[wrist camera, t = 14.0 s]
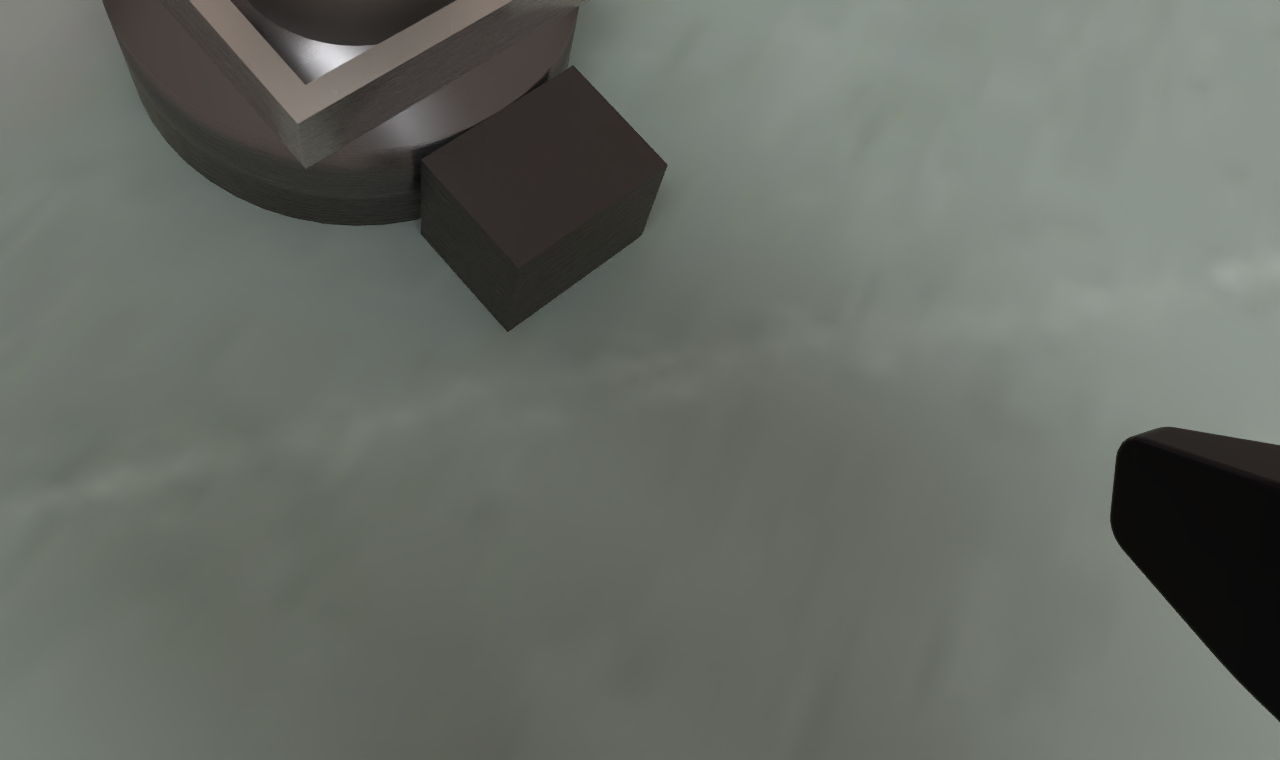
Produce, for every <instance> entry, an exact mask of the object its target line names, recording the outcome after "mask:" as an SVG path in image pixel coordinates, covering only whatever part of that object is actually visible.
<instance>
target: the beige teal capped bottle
mask: <svg viewBox="0 0 1280 760" xmlns="http://www.w3.org/2000/svg"><path fill="white" fill-rule="evenodd" d="M247 1H248V2H249V3H250V4H251V5H252V6H253V7H254V8H255V9H256V10H257V11H258V12H260V13H261V14H262V15H263V16H264V17H266V18H267V19H269V20H270V21H272V22H273V23H275V24H276V25H278V26H280V27H282V28H284V29H286V30H288V31H290V32H292V33H294V34H297V35H299V36H302V37H305V38H308V39H311V40H315V41H319V42H323V43H329V44H336V45H347V46H364V45H376V44H379V43H381V42H383V41H385V40H387V39H388V38H390V37H392V36H394V35H396V34H397V33H399V32H401V31H403V30H404V29H406V28H408V27H410V26H412V25H413V24H415V23H417V22H419V21H420V20H422V19H424V18H426V17H428V16H429V15H431V14H433V13H435V12H437V11H438V10H440V9H442V8H444V7H445V6H447V5H449V4H451V3H453V2H454V1H455V0H247Z"/></svg>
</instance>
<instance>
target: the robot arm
mask: <svg viewBox="0 0 1280 760" xmlns="http://www.w3.org/2000/svg"><path fill="white" fill-rule="evenodd" d="M1110 522H1111V528H1112V531H1113V534H1114V537H1115V539H1116V540H1117V542H1118V544H1119V545H1120V547H1121V548H1122V549H1123V551H1124V552H1125V553H1126V554H1127V555H1128V556H1129V557H1130V559H1131V560H1132V561H1133V562H1134V563H1135V564H1136V566H1137V567H1138V568H1139V569H1140V570H1141V571H1142V572H1143V574H1144V575H1145V576H1146V577H1147V578H1148V579H1149V581H1150V582H1151V583H1152V584H1153V585H1154V586H1155V587H1156V589H1157V590H1158V591H1159V592H1160V593H1161V594H1162V595H1163V597H1164V598H1165V599H1166V600H1167V601H1168V602H1169V604H1170V605H1171V606H1172V607H1173V608H1174V609H1175V610H1176V612H1177V613H1178V614H1179V615H1180V616H1181V617H1182V619H1183V620H1184V621H1185V622H1186V623H1187V624H1188V625H1189V627H1190V628H1191V629H1192V630H1193V631H1194V632H1195V634H1196V635H1197V636H1198V637H1199V638H1200V639H1201V640H1202V642H1203V643H1204V644H1205V645H1206V646H1207V647H1208V648H1209V650H1210V651H1211V652H1212V653H1213V654H1214V655H1215V657H1216V658H1217V659H1218V660H1219V661H1220V662H1221V663H1222V664H1223V665H1224V666H1225V668H1226V669H1227V670H1228V671H1229V672H1230V673H1231V674H1232V675H1233V676H1234V677H1235V678H1236V679H1237V680H1238V682H1239V683H1240V684H1241V685H1242V686H1243V687H1244V688H1245V689H1246V690H1247V691H1248V692H1249V693H1250V694H1251V695H1252V696H1253V697H1254V698H1255V699H1256V700H1257V701H1258V702H1259V703H1261V704H1262V705H1263V706H1264V707H1265V708H1266V709H1267V710H1268V711H1269V712H1270V713H1271V714H1272V715H1273V716H1274V717H1275V718H1276V719H1277V720H1278V721H1279V722H1280V445H1275V444H1269V443H1263V442H1257V441H1251V440H1246V439H1240V438H1234V437H1228V436H1222V435H1216V434H1210V433H1204V432H1199V431H1193V430H1187V429H1181V428H1175V427H1160V428H1157V429H1153V430H1150V431H1147V432H1144V433H1141V434H1138V435H1135V436H1132V437H1129V438H1128V439H1126V440H1125V441H1124V442H1122V444H1121V446H1120V448H1119V449H1118V451H1117V456H1116V464H1115V474H1114V483H1113V493H1112V503H1111V513H1110Z"/></svg>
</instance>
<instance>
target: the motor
mask: <svg viewBox="0 0 1280 760" xmlns="http://www.w3.org/2000/svg"><path fill="white" fill-rule="evenodd" d="M587 1H589V0H455V1H454V2H453V3H451V4H449V5H447V6H445V7H444V8H442V9H440V10H438V11H437V12H435V13H433V14H431V15H429V16H428V17H426V18H424V19H422V20H420V21H419V22H417V23H415V24H413V25H412V26H410V27H408V28H406V29H404V30H403V31H401V32H399V33H397V34H396V35H394V36H392V37H390V38H388V39H387V40H385V41H383V42H381V43H379V44H376V45H364V46H347V45H336V44H329V43H323V42H319V41H315V40H311V39H308V38H305V37H302V36H299V35H297V34H294V33H292V32H290V31H288V30H286V29H284V28H282V27H280V26H278V25H276V24H275V23H273V22H272V21H270V20H269V19H267V18H266V17H264V16H263V15H262V14H261V13H260V12H258V11H257V10H256V9H255V8H254V7H253V6H252V5H251V4H250V3H249V2H248V1H247V0H103V3H104V6H105V9H106V12H107V14H108V17H109V19H110V22H111V25H112V27H113V30H114V32H115V35H116V37H117V40H118V42H119V45H120V48H121V50H122V53H123V55H124V58H125V60H126V63H127V65H128V68H129V71H130V73H131V76H132V78H133V81H134V83H135V86H136V89H137V91H138V94H139V96H140V99H141V101H142V103H143V105H144V107H145V108H146V110H147V112H148V114H149V116H150V118H151V120H152V122H153V123H154V125H155V126H156V127H157V129H158V130H159V132H160V133H161V134H162V136H163V137H164V138H165V140H166V141H167V143H168V144H169V145H170V146H171V147H172V148H173V149H174V150H175V151H176V152H177V153H178V154H179V155H180V156H181V157H182V158H183V159H184V160H185V161H186V162H187V163H188V164H189V165H190V166H191V167H193V168H194V169H195V170H197V171H198V172H199V173H200V174H202V175H203V176H204V177H206V178H207V179H208V180H209V181H211V182H213V183H214V184H216V185H218V186H219V187H221V188H223V189H224V190H226V191H228V192H229V193H231V194H233V195H234V196H236V197H238V198H241V199H243V200H245V201H248V202H250V203H252V204H254V205H257V206H259V207H261V208H263V209H267V210H270V211H273V212H276V213H280V214H283V215H286V216H289V217H293V218H298V219H303V220H309V221H314V222H319V223H327V224H341V225H379V224H389V223H396V222H403V221H409V220H415V219H418V218H421V234H422V236H423V237H424V238H425V239H426V240H427V241H428V242H429V243H430V245H431V246H432V247H433V248H434V249H435V250H436V251H437V253H438V254H439V255H440V256H441V257H442V258H443V259H444V260H445V262H446V263H447V264H448V265H449V266H450V267H451V268H452V269H453V271H454V272H455V273H456V274H457V275H458V276H459V277H460V279H461V280H462V281H463V282H464V283H465V284H466V285H467V286H468V288H469V289H470V290H471V291H472V292H473V293H474V294H475V295H476V297H477V298H478V299H479V300H480V301H481V302H482V303H483V305H484V306H485V307H486V308H487V309H488V310H489V311H490V312H491V314H492V315H493V316H494V317H495V318H496V319H497V320H498V322H499V323H500V324H501V325H502V326H503V327H504V328H505V329H506V331H507V332H508V331H509V330H511V329H512V328H514V327H515V326H516V325H518V324H519V323H521V322H522V321H523V320H525V319H526V318H528V317H529V316H530V315H532V314H533V313H534V312H536V311H537V310H539V309H540V308H541V307H543V306H544V305H546V304H547V303H548V302H550V301H551V300H553V299H554V298H555V297H557V296H558V295H559V294H561V293H562V292H564V291H565V290H566V289H568V288H569V287H571V286H572V285H573V284H575V283H576V282H578V281H579V280H580V279H582V278H583V277H584V276H586V275H587V274H589V273H590V272H591V271H593V270H594V269H596V268H597V267H598V266H600V265H601V264H603V263H604V262H605V261H607V260H608V259H609V258H611V257H612V256H614V255H615V254H616V253H618V252H619V251H621V250H622V249H623V248H625V247H626V246H628V245H629V244H630V243H632V242H633V241H634V240H636V239H637V238H639V237H640V236H641V235H642V232H643V230H644V227H645V224H646V222H647V219H648V216H649V213H650V211H651V208H652V205H653V203H654V200H655V197H656V195H657V192H658V189H659V187H660V184H661V181H662V179H663V176H664V173H665V171H666V168H667V164H666V163H665V162H664V161H663V159H662V158H661V157H660V156H659V155H658V154H657V153H656V152H655V151H654V150H653V149H652V148H651V147H650V146H649V145H648V144H647V143H646V142H645V141H644V139H643V138H642V137H641V136H640V135H639V134H638V133H637V132H636V131H635V130H634V129H633V128H632V127H631V126H630V125H629V124H628V123H627V122H626V121H625V119H624V118H623V117H622V116H621V115H620V114H619V113H618V112H617V111H616V110H615V109H614V108H613V107H612V106H611V105H610V104H609V103H608V102H607V100H606V99H605V98H604V97H603V96H602V95H601V94H600V93H599V92H598V91H597V90H596V89H595V88H594V87H593V86H592V85H591V84H590V83H589V82H588V80H587V79H586V78H585V77H584V76H583V75H582V74H581V73H580V72H579V71H578V70H577V69H576V68H575V67H574V66H571V67H570V68H568V69H567V66H568V61H569V56H570V51H571V46H572V40H573V35H574V30H575V25H576V20H577V14H578V9H579V6H581V5H582V4H584V3H586V2H587Z"/></svg>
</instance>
